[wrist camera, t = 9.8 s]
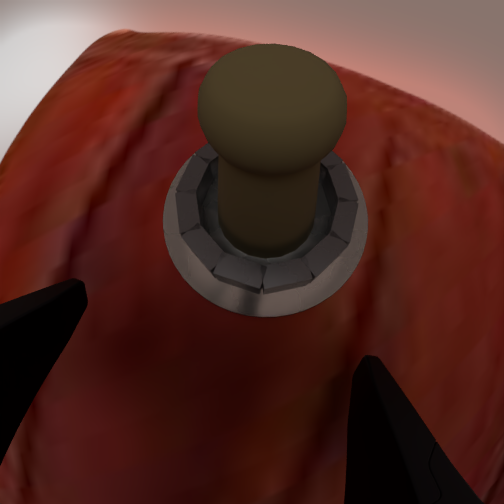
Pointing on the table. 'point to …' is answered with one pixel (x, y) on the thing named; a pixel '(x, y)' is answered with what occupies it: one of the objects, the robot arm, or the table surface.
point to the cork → (270, 142)
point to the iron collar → (259, 269)
